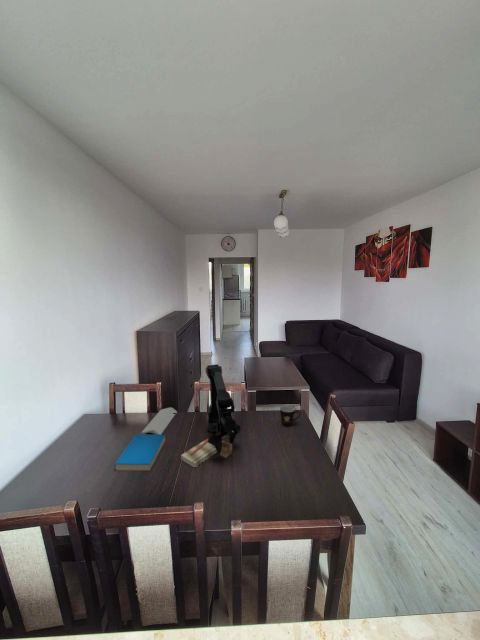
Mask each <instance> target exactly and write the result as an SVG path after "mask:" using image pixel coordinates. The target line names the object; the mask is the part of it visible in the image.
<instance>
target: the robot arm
mask: <svg viewBox="0 0 480 640" xmlns="http://www.w3.org/2000/svg"><path fill="white" fill-rule="evenodd" d="M204 369H205V374H206V377H207V378H208V379H209V397H210V404H209V406H208V409H207V413H206V415H205V418H206V421H207V424H208V428H207V429H206V431H208V432H209V433H212V435H210V436H209V437H208V438H207V439H208V443H210V444H212V445H214V446H215V448H216V450H217V454H218V455H219V454H220V453H221V448H222V440H223V438H225V437H227V436H229V437H228V439H229V443H231V444H232V445H233V444H234V442H235V440H236V438H237V437H238V435H239V433H240V431H241V426H240V425H239V424H237V422H236V420H235V418H234V416H233V415H232V413H235V410H236V409H235V408H236V407H235V403H234V400H233V398H232V396H231V395H230V392H229V391H228V390H227V389H226V386H225V381H224V379H223V368H222V366H220V365H219V364H210V365H206V367H205V368H204ZM217 434H218V435H217Z"/></svg>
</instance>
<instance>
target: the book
mask: <svg viewBox="0 0 480 640" xmlns="http://www.w3.org/2000/svg"><path fill="white" fill-rule="evenodd" d="M165 442H166V434H161V435H157V434H154V433H151V434H147V433H146V434H140V433H139V434H135V435H134V437H133V438H132V440H130V442H129V444H128V445H127V446H126V447H125V449H124V451H123V452H122V454H121V455H120V456H119V457H118V459H117V461H116V462H115V464H114V470H115V471H142V472H143V471H145V472H146V471H147V472H148V471H151V469H152V468H153V465H154V463H155V461H156V459H157V457H158V455H159V453H160V451H161V450H162V447H163V446H164V443H165Z"/></svg>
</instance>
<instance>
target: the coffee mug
mask: <svg viewBox="0 0 480 640" xmlns="http://www.w3.org/2000/svg"><path fill="white" fill-rule="evenodd" d="M279 411H280V412H279V413H280V420H281V421H280V422H281V425H282V426H283V427H286V428H290V427H292V426H293V422H294V421H296V420H297V419H299V418H300V417H301V412H300V411H298V410H296V411H295V408H294V406H291V405H282V406H280V408H279ZM296 413H298V414H299V416H297V417H295V418H294V416H295V414H296Z"/></svg>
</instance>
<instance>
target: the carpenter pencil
mask: <svg viewBox="0 0 480 640" xmlns="http://www.w3.org/2000/svg"><path fill="white" fill-rule="evenodd" d="M205 440H206V439H205ZM206 443H208V440H206V441H205V442H204V443H203V444H202V445H200V446H199V447H198V448H197V449H195V450H194V451H193V452H192V453H190V455H193V454H194V453H196V452H197V451H198V450H199V449H200V448H202V447H203V446H204V445H205V444H206Z"/></svg>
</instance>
